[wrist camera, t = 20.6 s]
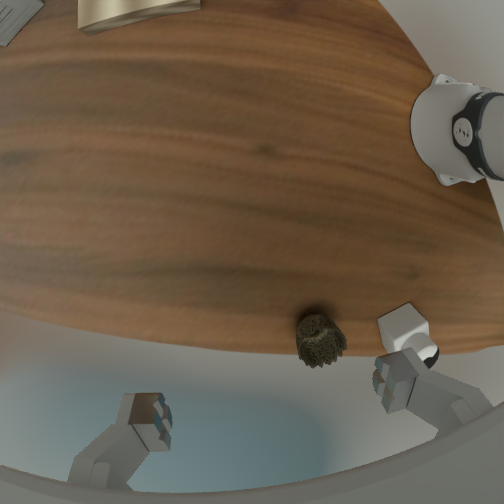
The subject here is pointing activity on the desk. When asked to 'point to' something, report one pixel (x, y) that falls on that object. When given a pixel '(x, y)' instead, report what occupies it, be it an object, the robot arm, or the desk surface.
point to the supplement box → (15, 17)
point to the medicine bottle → (408, 333)
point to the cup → (319, 340)
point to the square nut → (126, 12)
